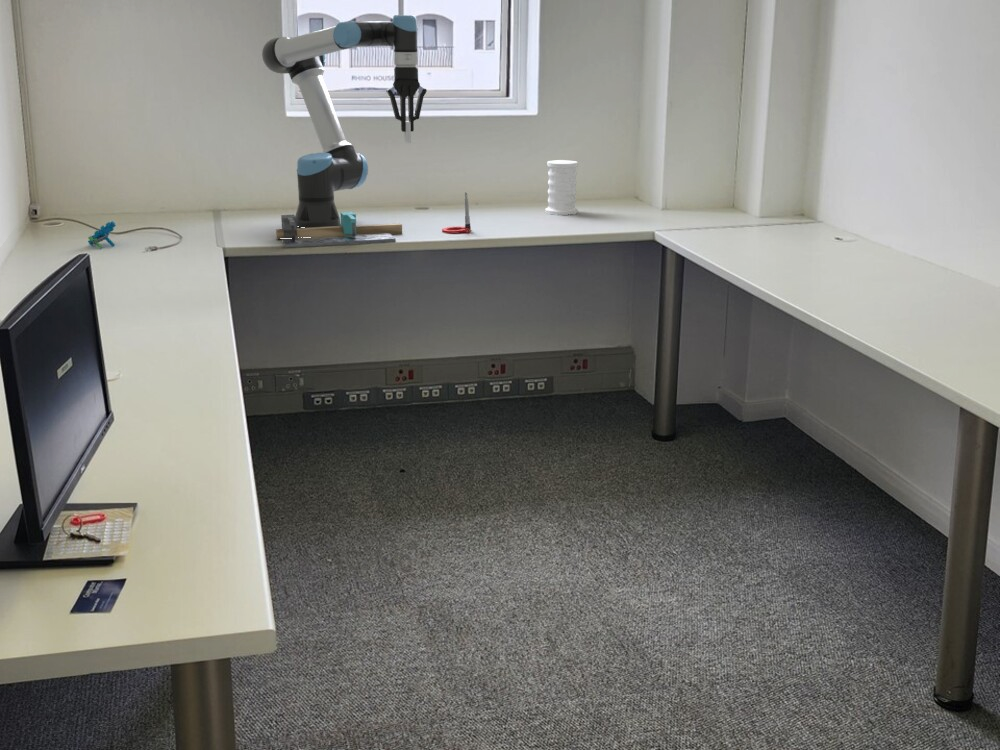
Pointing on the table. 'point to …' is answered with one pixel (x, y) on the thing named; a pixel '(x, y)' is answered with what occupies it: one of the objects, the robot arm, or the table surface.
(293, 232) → the gauge rail
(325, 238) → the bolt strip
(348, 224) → the sliding jaw
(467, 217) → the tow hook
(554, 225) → the table surface
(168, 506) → the table surface
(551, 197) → the decorative container
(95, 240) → the blue blocky piece
